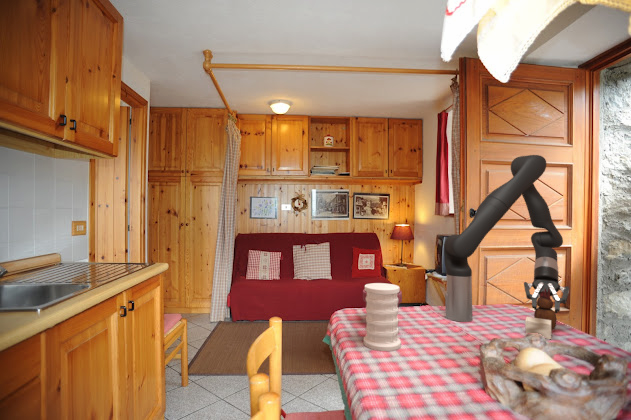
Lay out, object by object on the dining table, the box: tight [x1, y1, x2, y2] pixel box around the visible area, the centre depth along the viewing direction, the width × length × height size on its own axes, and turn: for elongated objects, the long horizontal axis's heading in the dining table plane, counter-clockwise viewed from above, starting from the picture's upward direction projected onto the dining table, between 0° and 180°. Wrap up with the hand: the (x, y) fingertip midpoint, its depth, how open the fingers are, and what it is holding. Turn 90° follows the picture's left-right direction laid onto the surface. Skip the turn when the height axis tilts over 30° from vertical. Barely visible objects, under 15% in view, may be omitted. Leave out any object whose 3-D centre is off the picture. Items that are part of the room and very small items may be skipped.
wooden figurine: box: [533, 288, 558, 332], centre depth 115 cm, size 7×6×15 cm
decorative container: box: [363, 282, 402, 352], centre depth 102 cm, size 12×12×18 cm
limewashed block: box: [524, 316, 552, 340], centre depth 109 cm, size 7×6×5 cm
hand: (545, 310), depth 113 cm, fingers closed on wooden figurine, 5 cm apart
